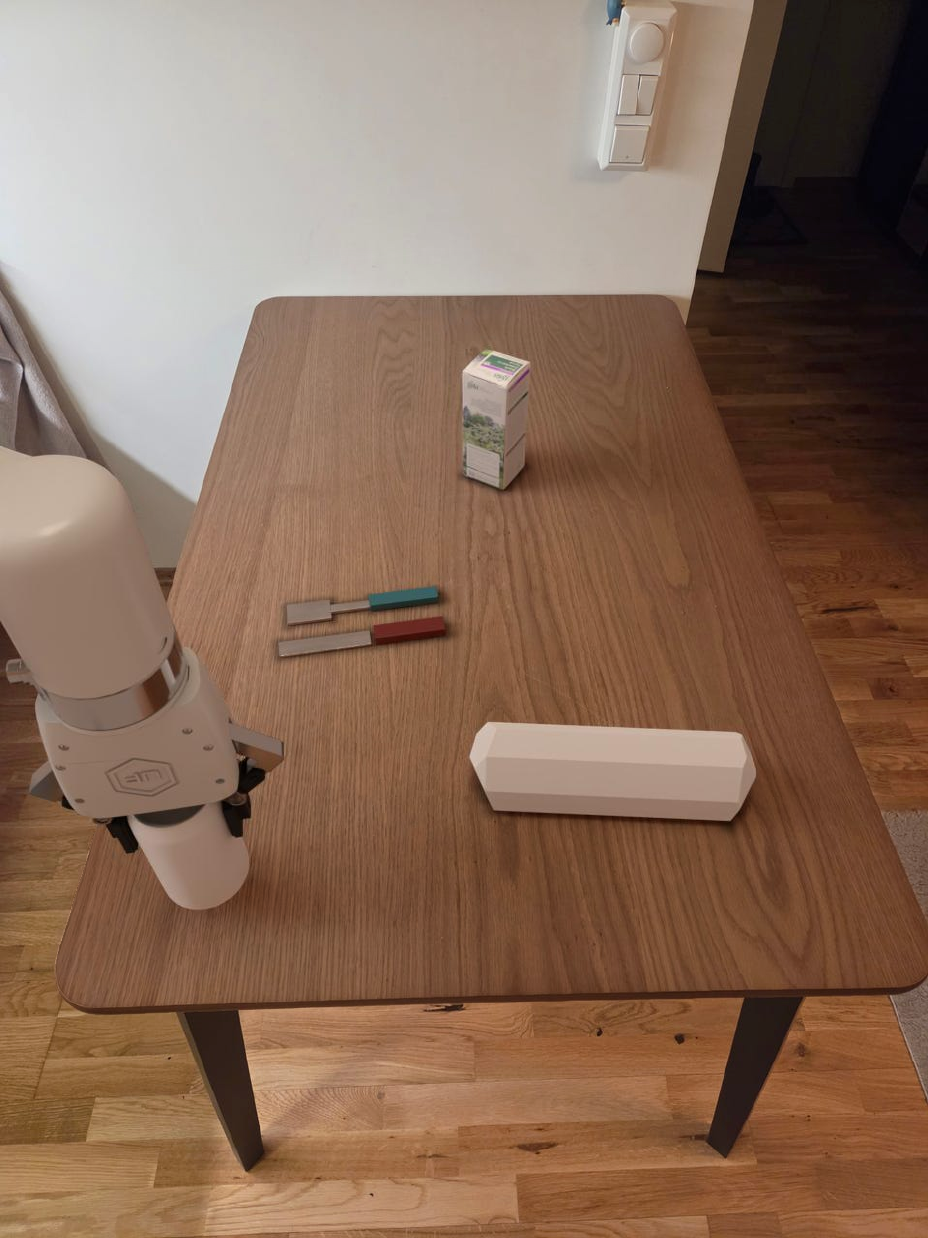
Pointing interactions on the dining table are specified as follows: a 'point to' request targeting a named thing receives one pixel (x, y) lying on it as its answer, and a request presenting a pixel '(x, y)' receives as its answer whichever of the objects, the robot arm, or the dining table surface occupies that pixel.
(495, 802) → the crystal
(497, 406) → the syrup box
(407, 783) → the dining table surface
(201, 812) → the can
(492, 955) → the dining table surface
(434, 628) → the knife
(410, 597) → the teal handled spatula
